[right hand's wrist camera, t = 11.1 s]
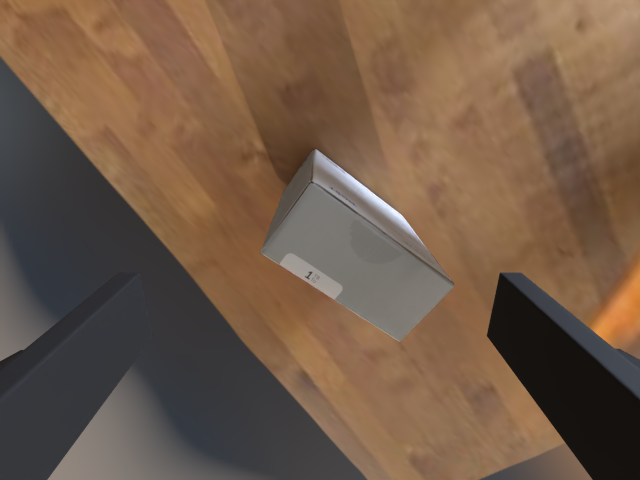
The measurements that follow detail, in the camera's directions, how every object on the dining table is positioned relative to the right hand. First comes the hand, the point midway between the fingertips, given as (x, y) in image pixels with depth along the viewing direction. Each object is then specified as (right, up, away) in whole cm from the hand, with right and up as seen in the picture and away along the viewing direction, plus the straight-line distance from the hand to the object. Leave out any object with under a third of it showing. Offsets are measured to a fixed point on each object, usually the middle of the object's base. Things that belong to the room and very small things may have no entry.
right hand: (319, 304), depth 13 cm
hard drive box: (+3, +7, +34) cm, 35 cm away
